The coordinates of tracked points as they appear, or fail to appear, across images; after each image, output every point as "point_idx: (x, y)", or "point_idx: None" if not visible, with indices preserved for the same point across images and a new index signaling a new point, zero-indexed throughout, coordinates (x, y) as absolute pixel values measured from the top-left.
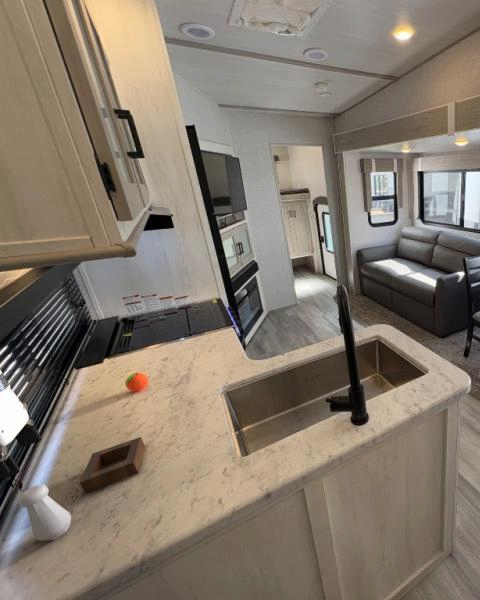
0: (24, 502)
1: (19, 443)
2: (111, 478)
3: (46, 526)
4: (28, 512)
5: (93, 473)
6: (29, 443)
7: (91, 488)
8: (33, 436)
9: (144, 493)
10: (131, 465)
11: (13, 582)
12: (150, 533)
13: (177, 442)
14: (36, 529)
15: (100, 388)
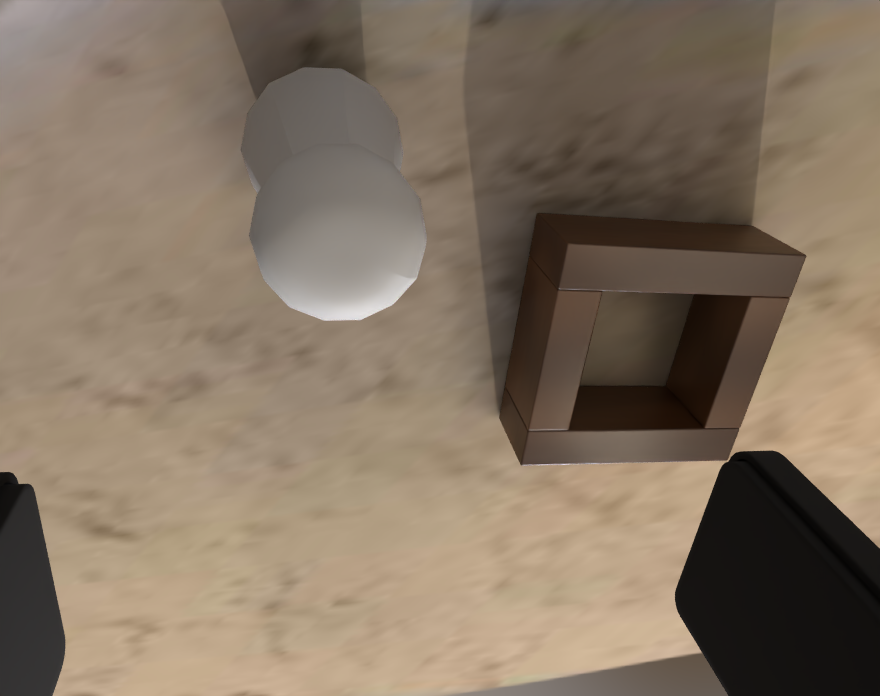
0: (255, 217)
1: (770, 507)
2: (525, 342)
3: (253, 174)
4: (290, 153)
5: (592, 300)
6: (707, 544)
7: (537, 250)
8: (741, 671)
9: (327, 459)
10: (518, 446)
11: (63, 3)
12: (46, 514)
13: (595, 533)
14: (259, 126)
15: None
